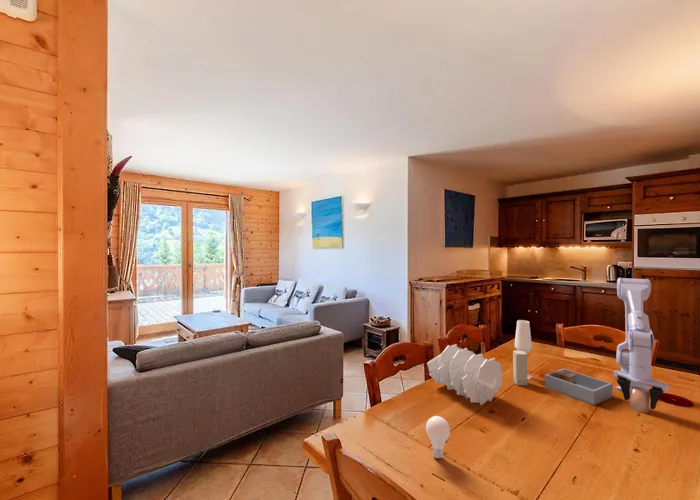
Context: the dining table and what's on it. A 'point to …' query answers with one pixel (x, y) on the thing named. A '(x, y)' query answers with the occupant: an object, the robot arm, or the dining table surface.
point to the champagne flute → (523, 338)
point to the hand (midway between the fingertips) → (639, 403)
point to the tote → (580, 387)
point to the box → (520, 367)
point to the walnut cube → (566, 376)
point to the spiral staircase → (467, 373)
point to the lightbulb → (437, 434)
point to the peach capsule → (639, 399)
